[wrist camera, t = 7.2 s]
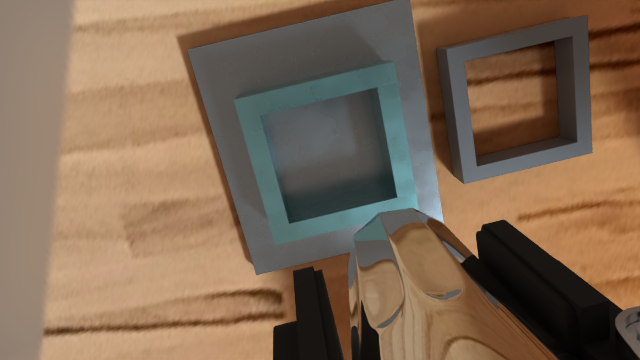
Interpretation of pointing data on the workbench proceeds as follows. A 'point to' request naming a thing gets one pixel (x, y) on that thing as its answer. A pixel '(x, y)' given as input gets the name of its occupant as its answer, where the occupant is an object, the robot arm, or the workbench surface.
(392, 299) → the milkshake
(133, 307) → the workbench surface
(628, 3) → the workbench surface
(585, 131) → the square picture frame
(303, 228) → the panel
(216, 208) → the workbench surface
